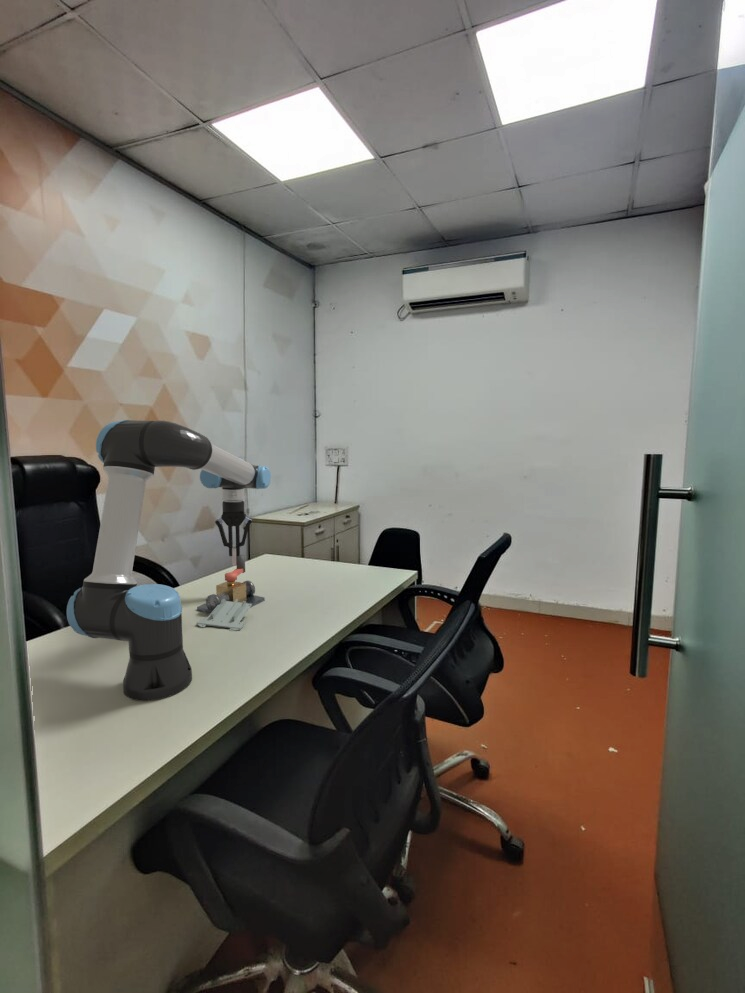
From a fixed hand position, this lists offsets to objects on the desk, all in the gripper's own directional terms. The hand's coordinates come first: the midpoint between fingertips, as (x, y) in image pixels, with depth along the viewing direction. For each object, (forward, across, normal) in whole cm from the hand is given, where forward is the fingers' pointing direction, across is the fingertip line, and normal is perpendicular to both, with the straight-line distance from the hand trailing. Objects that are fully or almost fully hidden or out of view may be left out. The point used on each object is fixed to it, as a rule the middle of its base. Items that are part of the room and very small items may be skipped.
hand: (234, 564), depth 175 cm
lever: (+3, +1, -5) cm, 6 cm away
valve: (+12, -1, -9) cm, 15 cm away
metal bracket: (+12, -1, -23) cm, 26 cm away
